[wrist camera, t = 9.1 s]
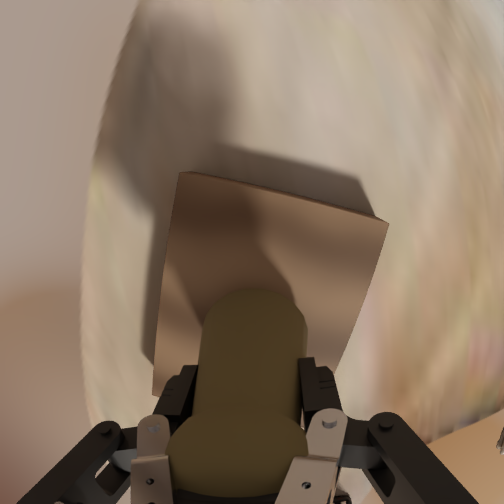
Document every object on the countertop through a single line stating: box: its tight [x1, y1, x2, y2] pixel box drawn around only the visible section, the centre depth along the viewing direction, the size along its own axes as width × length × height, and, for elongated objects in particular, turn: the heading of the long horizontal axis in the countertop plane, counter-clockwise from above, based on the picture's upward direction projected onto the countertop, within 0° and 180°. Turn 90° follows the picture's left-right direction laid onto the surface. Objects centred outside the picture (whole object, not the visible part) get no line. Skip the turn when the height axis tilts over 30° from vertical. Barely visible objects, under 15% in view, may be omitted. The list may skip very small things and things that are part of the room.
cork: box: [164, 288, 309, 497], centre depth 12 cm, size 6×6×11 cm
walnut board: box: [152, 172, 389, 428], centre depth 20 cm, size 16×12×2 cm
